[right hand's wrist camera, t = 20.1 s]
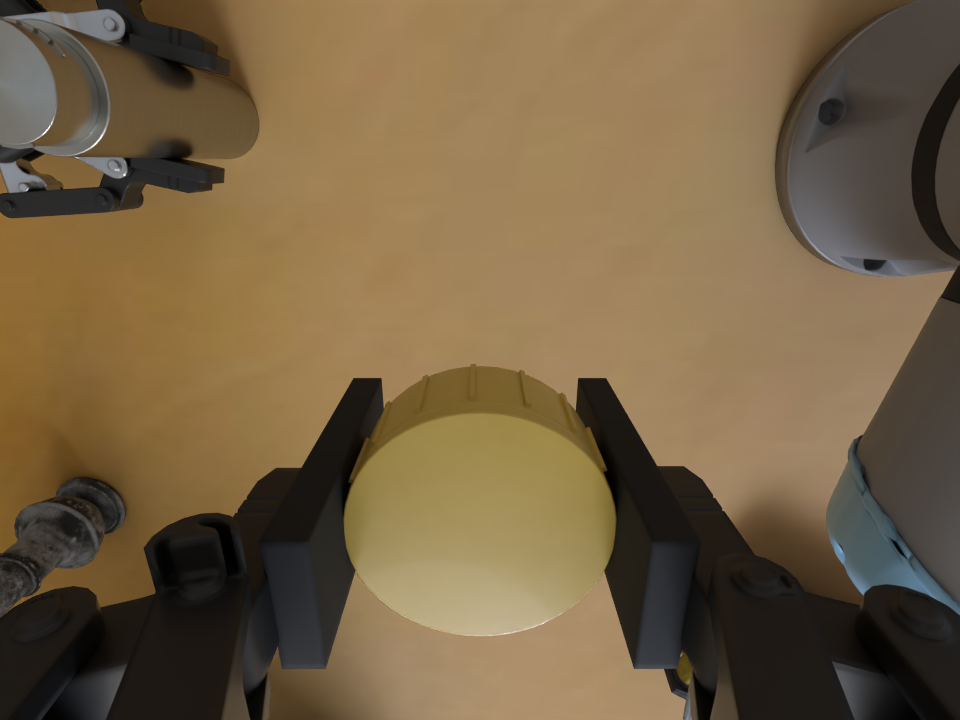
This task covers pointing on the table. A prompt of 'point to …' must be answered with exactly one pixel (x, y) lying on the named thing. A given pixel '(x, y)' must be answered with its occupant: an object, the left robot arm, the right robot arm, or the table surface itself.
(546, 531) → the lid
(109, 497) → the dark grey chess piece
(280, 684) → the table surface
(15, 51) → the jar
